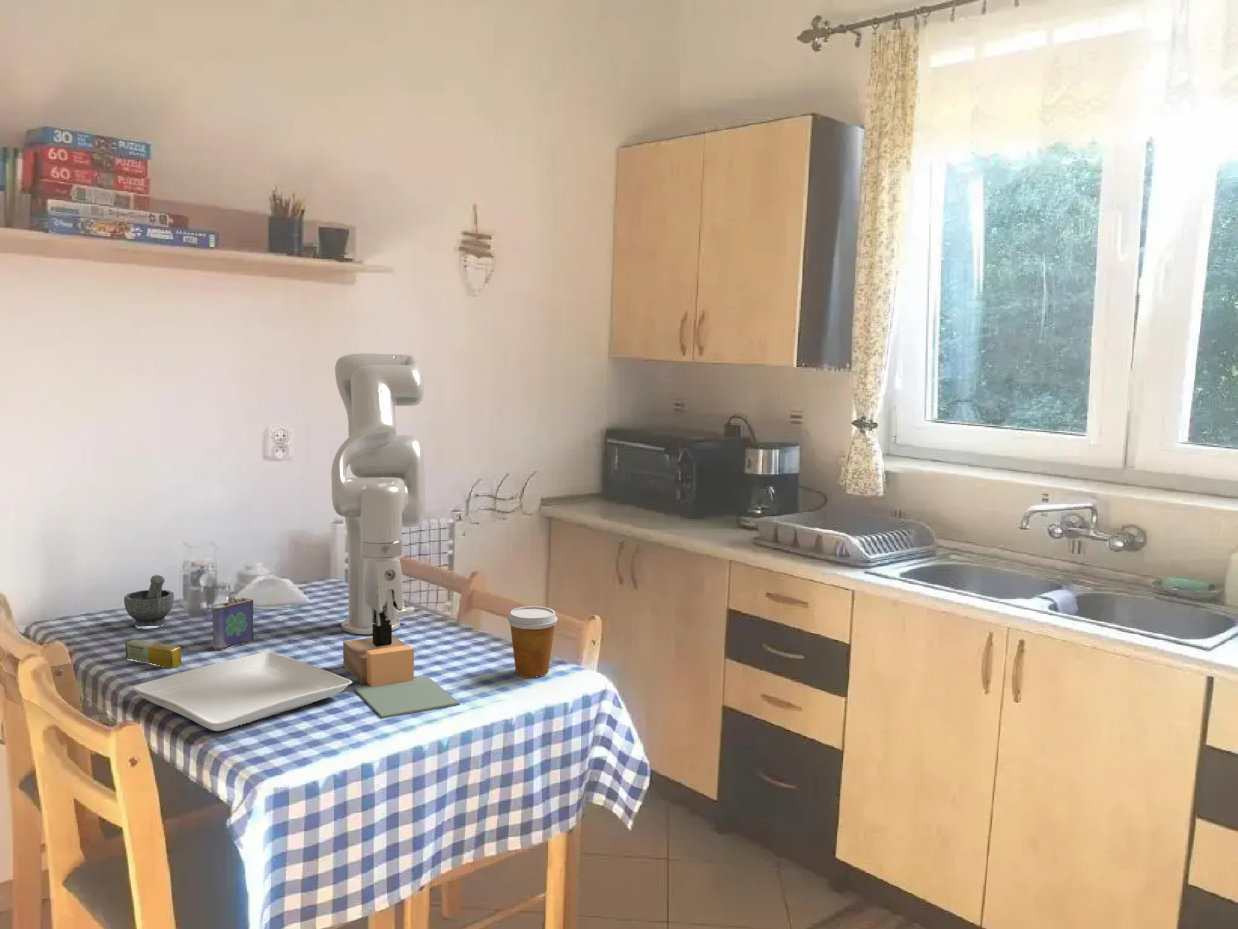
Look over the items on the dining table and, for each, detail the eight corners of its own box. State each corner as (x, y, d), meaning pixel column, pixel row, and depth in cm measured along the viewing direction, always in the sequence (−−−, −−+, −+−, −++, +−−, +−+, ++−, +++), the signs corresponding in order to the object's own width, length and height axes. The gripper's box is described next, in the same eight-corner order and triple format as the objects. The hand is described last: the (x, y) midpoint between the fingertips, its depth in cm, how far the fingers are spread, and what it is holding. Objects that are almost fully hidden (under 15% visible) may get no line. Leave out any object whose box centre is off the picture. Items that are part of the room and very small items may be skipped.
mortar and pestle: (119, 624, 226) (117, 571, 225) (162, 617, 233) (161, 564, 231) (139, 635, 218) (137, 580, 217) (183, 627, 225) (181, 573, 224)
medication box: (125, 661, 202) (123, 642, 202) (136, 657, 205) (135, 638, 204) (172, 670, 198) (171, 650, 197) (183, 666, 200) (181, 646, 200)
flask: (217, 651, 209) (216, 599, 208) (209, 648, 211) (207, 597, 209) (256, 641, 217) (255, 591, 215) (247, 638, 218) (246, 589, 217)
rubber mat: (427, 678, 195) (427, 676, 195) (459, 704, 182) (459, 702, 182) (354, 689, 188) (354, 687, 188) (382, 718, 175) (382, 716, 175)
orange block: (407, 644, 195) (413, 648, 192) (408, 675, 196) (413, 680, 193) (366, 650, 191) (371, 654, 188) (366, 682, 191) (371, 686, 189)
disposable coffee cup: (563, 667, 203) (564, 608, 202) (546, 683, 194) (547, 620, 193) (517, 662, 206) (518, 604, 204) (499, 677, 197) (500, 616, 195)
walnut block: (393, 659, 206) (393, 634, 206) (413, 676, 196) (413, 651, 196) (343, 666, 201) (343, 641, 201) (361, 684, 191) (361, 658, 190)
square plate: (268, 667, 201) (268, 648, 200) (355, 700, 184) (355, 679, 183) (130, 704, 180) (129, 682, 180) (213, 745, 163) (212, 721, 163)
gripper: (414, 555, 189) (414, 652, 191) (388, 540, 202) (388, 632, 204) (374, 558, 185) (374, 658, 187) (350, 544, 198) (351, 637, 200)
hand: (382, 644), depth 196 cm, fingers closed
